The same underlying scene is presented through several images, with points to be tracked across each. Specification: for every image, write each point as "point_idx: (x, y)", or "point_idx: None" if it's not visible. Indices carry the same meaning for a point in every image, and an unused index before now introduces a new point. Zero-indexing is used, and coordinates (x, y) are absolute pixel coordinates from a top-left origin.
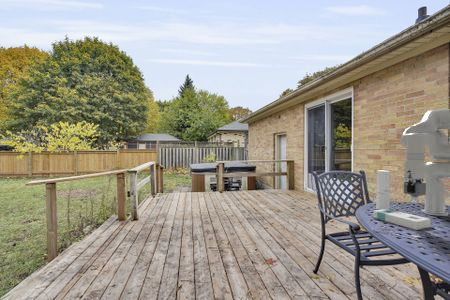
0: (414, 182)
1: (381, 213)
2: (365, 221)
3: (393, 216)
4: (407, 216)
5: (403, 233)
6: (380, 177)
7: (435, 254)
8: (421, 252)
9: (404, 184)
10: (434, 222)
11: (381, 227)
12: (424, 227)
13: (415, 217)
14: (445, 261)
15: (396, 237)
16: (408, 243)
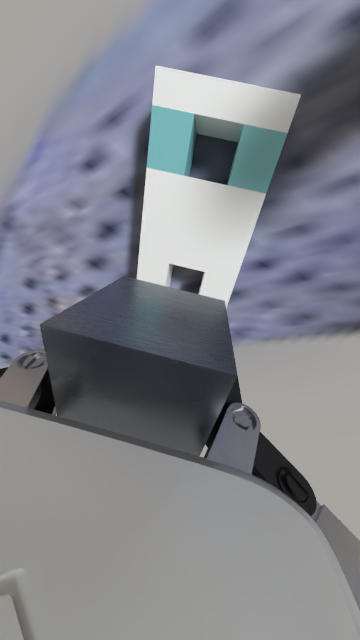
0: (128, 419)
1: (150, 141)
2: (68, 113)
3: (143, 216)
4: (186, 261)
5: (75, 281)
6: None
7: (21, 352)
8: (4, 336)
9: (70, 314)
10: (296, 313)
11: (62, 211)
12: None
13: (201, 286)
14: (10, 364)
15: (27, 280)
16: (20, 310)
